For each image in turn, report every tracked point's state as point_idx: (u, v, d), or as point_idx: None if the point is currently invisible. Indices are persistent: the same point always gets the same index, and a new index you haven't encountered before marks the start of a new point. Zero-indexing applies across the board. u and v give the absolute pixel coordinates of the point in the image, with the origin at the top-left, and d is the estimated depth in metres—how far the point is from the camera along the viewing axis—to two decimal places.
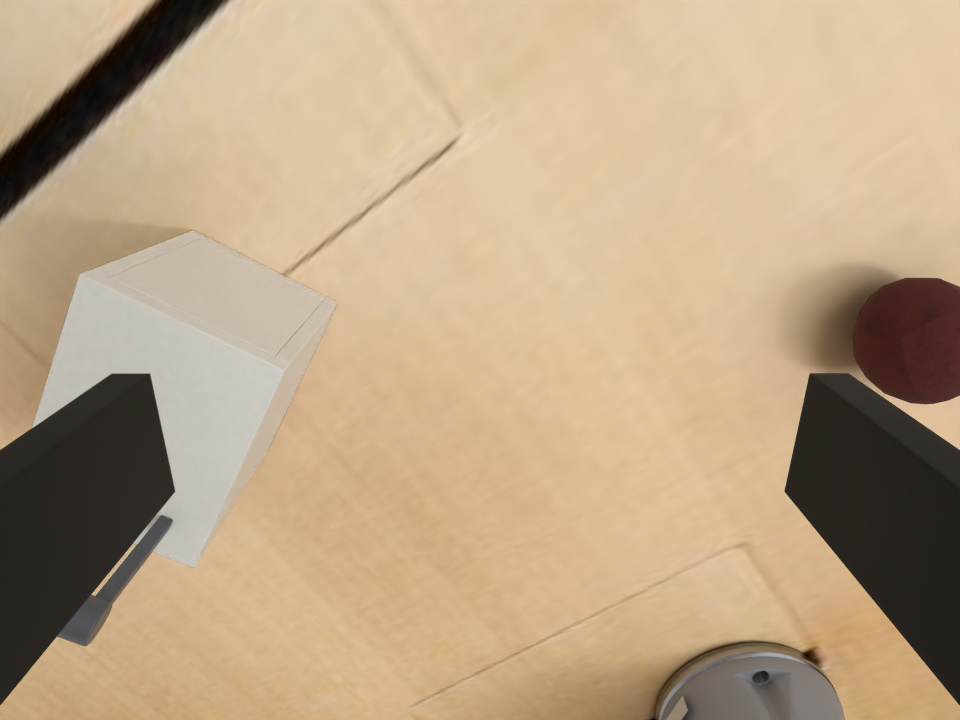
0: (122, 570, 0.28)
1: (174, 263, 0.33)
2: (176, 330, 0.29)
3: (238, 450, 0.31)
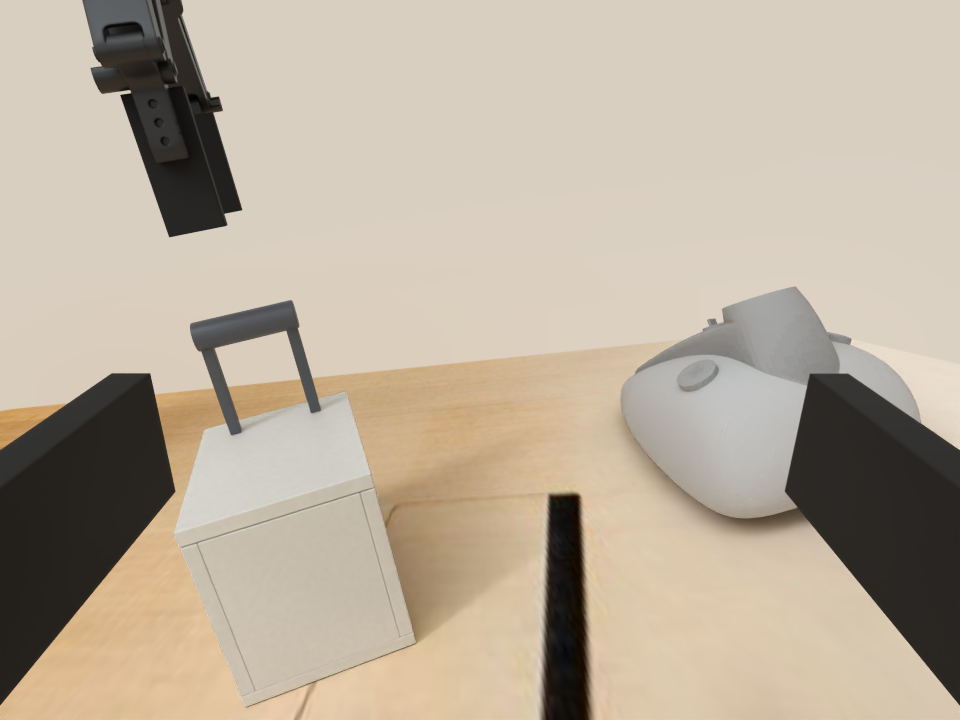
0: (217, 375, 0.39)
1: (364, 571, 0.34)
2: (280, 495, 0.32)
3: (195, 482, 0.35)
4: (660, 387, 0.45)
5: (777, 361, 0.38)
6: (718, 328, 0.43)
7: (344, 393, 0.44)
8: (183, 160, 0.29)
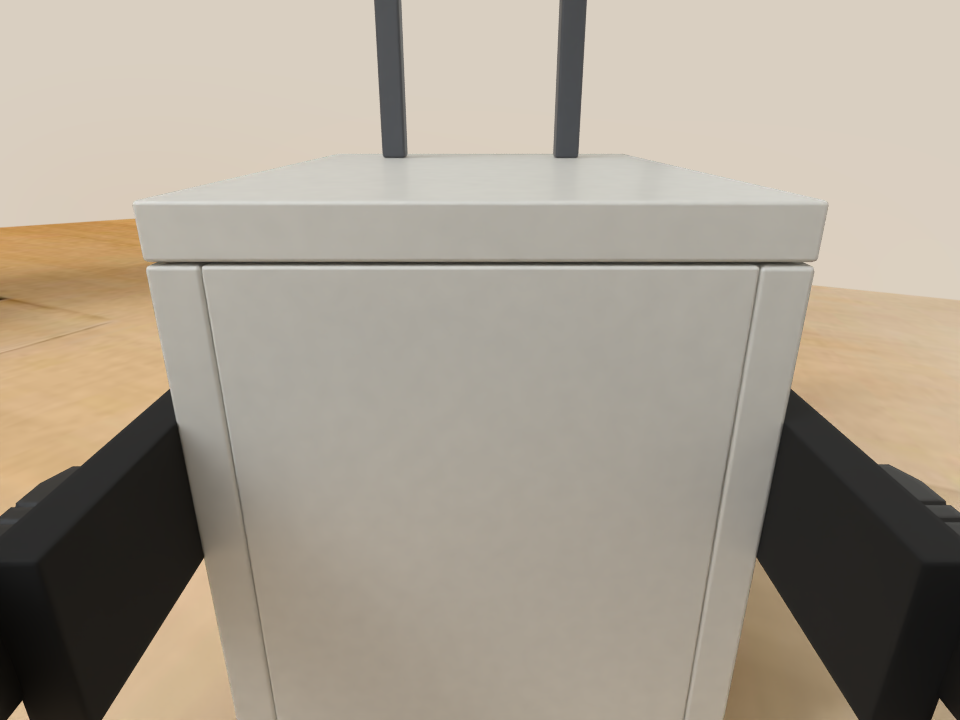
0: (390, 0, 0.17)
1: (665, 534, 0.11)
2: (496, 196, 0.09)
3: (275, 172, 0.14)
4: None
5: None
6: None
7: (622, 154, 0.21)
8: None
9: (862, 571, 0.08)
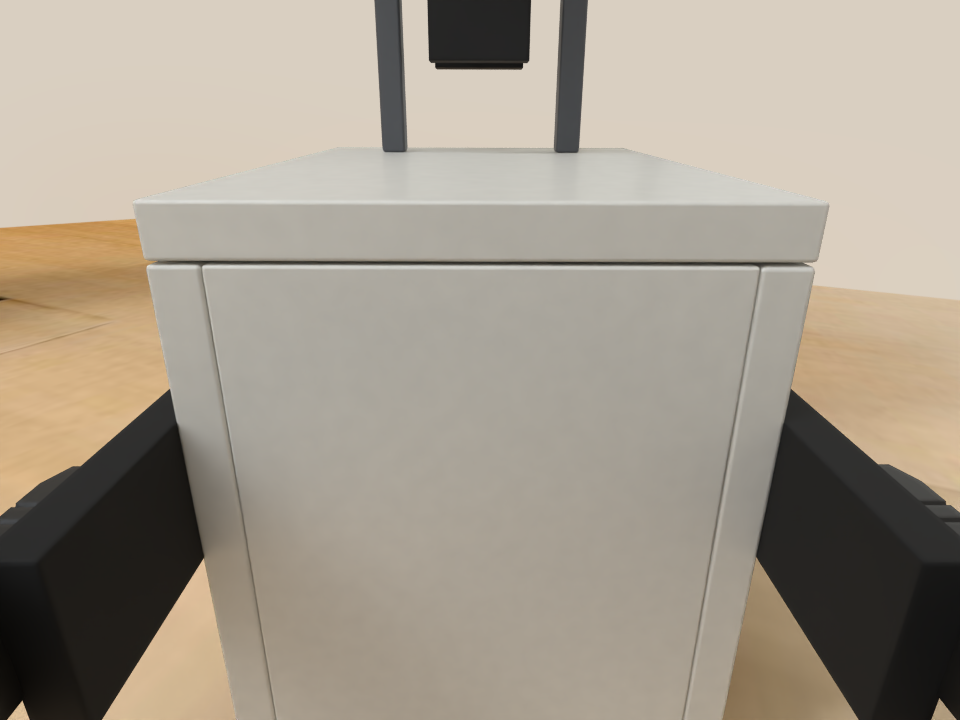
0: None
1: (665, 534, 0.11)
2: (497, 195, 0.09)
3: (274, 168, 0.13)
4: None
5: None
6: None
7: (623, 148, 0.21)
8: None
9: (862, 571, 0.08)
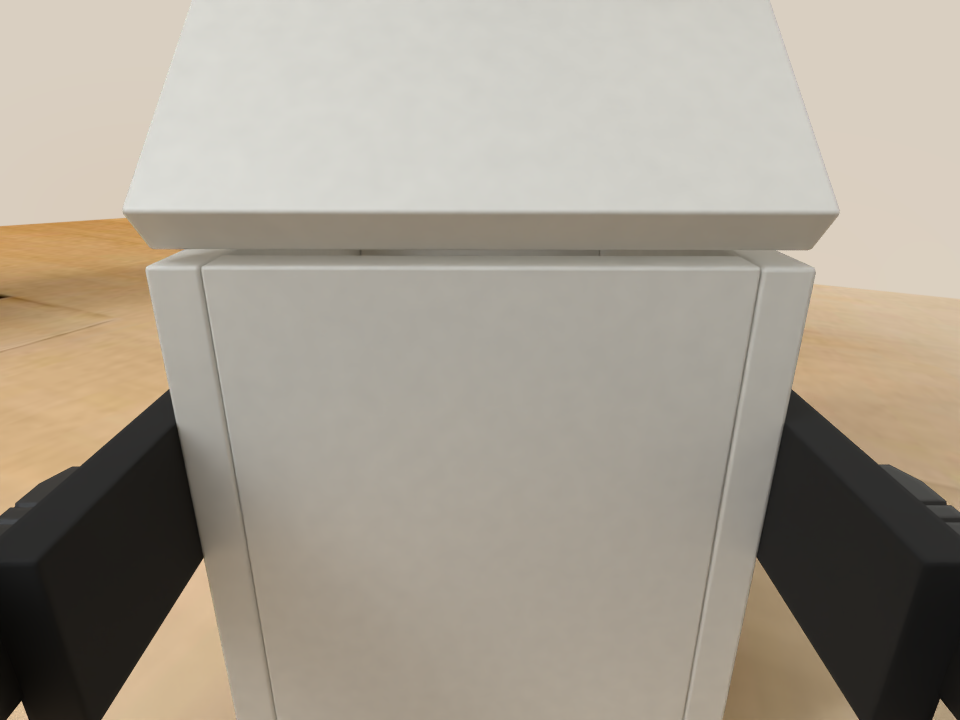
0: None
1: (665, 534, 0.11)
2: (498, 183, 0.09)
3: None
4: None
5: None
6: None
7: None
8: None
9: (863, 571, 0.08)
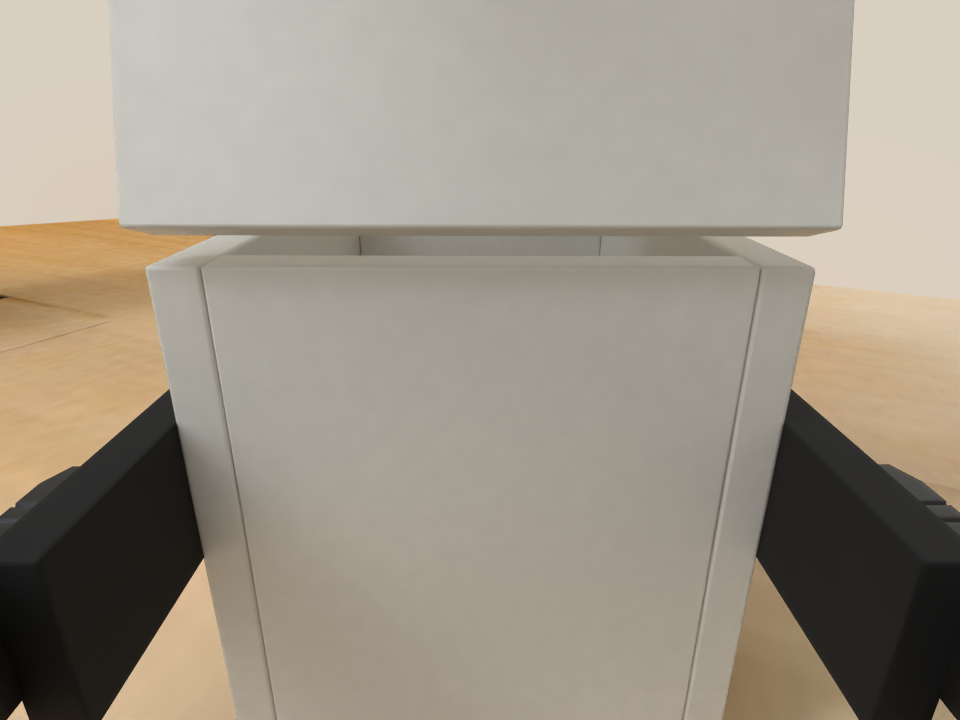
0: None
1: (665, 534, 0.11)
2: (498, 190, 0.08)
3: None
4: None
5: None
6: None
7: None
8: None
9: (862, 571, 0.08)
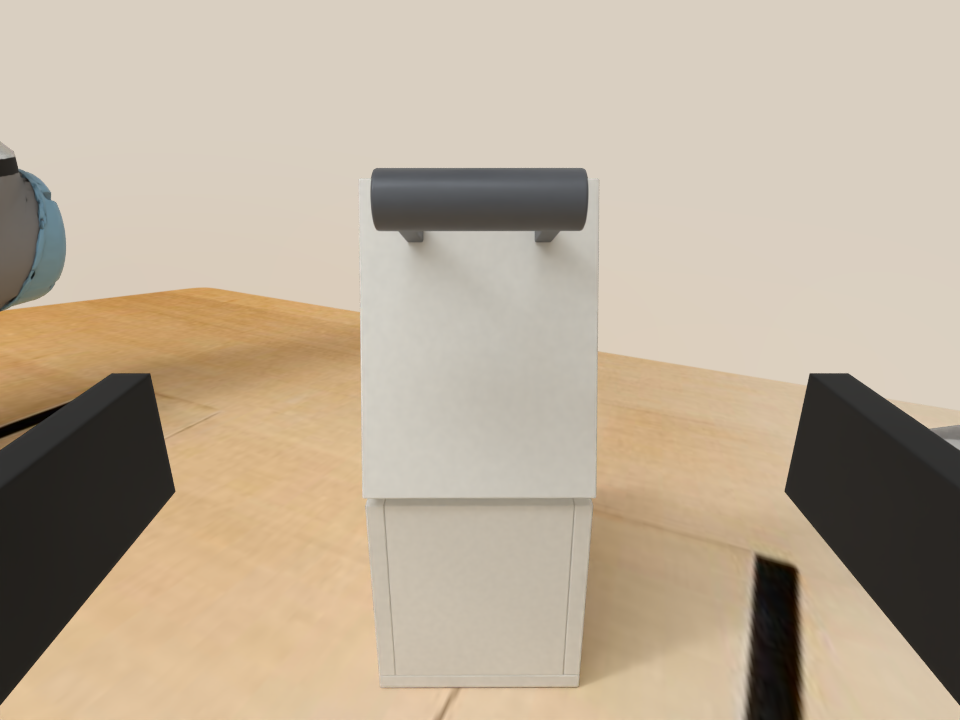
0: None
1: (549, 592, 0.28)
2: (485, 486, 0.26)
3: (371, 376, 0.26)
4: None
5: None
6: None
7: (595, 189, 0.25)
8: None
9: None
